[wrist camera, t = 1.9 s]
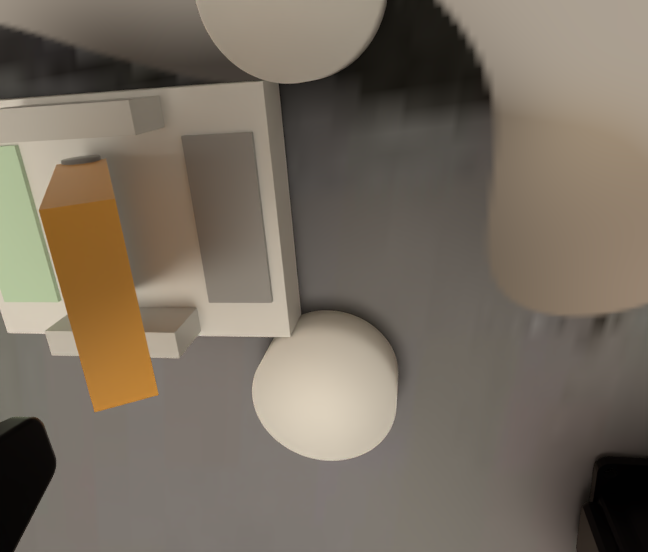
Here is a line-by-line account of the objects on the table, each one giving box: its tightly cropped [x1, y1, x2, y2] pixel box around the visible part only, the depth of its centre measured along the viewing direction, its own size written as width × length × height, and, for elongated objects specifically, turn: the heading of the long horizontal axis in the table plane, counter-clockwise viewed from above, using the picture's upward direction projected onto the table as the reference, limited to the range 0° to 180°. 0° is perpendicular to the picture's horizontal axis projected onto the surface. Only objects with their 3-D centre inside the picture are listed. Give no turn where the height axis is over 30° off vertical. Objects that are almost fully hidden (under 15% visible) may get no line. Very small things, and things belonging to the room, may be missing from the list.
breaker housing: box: [0, 80, 301, 358], centre depth 19 cm, size 12×9×4 cm
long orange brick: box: [39, 155, 158, 412], centre depth 15 cm, size 2×5×8 cm
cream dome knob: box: [252, 310, 398, 461], centre depth 22 cm, size 6×6×2 cm
